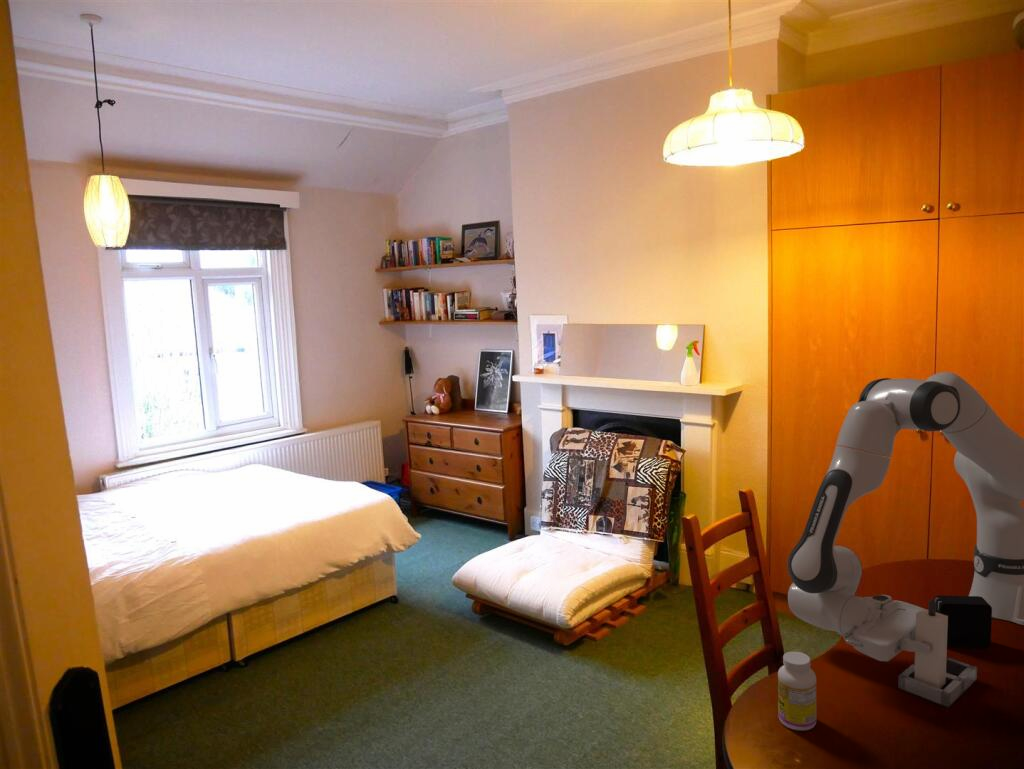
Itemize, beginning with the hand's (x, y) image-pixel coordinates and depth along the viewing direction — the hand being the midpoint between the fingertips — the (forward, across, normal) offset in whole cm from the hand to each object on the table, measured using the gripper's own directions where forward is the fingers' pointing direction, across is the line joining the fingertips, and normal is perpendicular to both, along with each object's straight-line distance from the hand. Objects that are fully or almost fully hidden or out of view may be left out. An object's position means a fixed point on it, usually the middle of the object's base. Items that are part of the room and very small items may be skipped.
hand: (936, 645), depth 141 cm
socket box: (-1, +3, +10) cm, 11 cm away
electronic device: (-4, +23, +10) cm, 26 cm away
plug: (-1, 0, +8) cm, 8 cm away
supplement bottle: (-13, -27, +10) cm, 31 cm away
